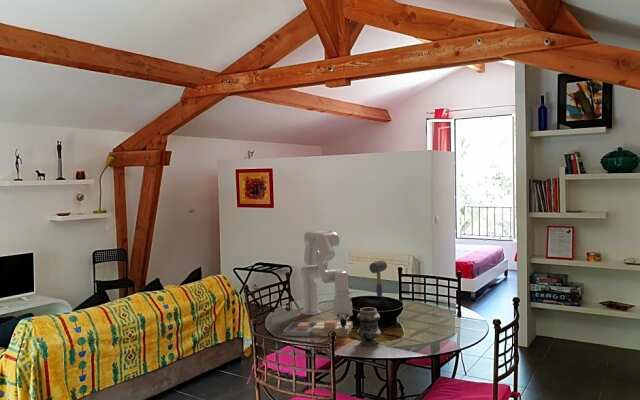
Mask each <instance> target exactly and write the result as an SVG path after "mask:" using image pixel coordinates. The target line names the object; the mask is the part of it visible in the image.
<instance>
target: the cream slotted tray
mask: <svg viewBox="0 0 640 400" xmlns="http://www.w3.org/2000/svg"><path fill="white" fill-rule="evenodd" d="M325 321H326V320H319V321H317V324H316V325H315V326H314V327H313V328H312V335H311V336H312V337H313V336H314V337H315V336H316V337H318V336H319V337H329V336H328V333H329V332H330V331H335V332H336V335H337V336H336V337H348V336H349V335H350V333H351V332H350V331H352V330H353V329H352V328H354V327H353V325H354V324H353V321H346V325H345V327H342V325H341V322H340V321H339V320H337V326H336V328H324V322H325ZM351 329H352V330H351ZM349 332H350V333H349ZM348 334H349V335H348Z"/></svg>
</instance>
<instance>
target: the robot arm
mask: <svg viewBox="0 0 640 400" xmlns="http://www.w3.org/2000/svg"><path fill="white" fill-rule="evenodd" d="M303 241H304V244H305V247H304V254H303V255H304V256H303V258H304V259H303V262H304V264H305V265H303V266H301V268H300V277H301V282H302V293H303V295H302V297H303V309H302V311H301V314H302V315H303V316H314V315H315V316H316V315H319V314H321V313H322V310H321V309H319V294H318V283H316V282H315V280H316V279H320V280H321V282H322V283H324V284H332V283H333V284H334V297H333V309H332V310H333V317H334V316H335V317H337V318H338V319H339V320H340V322H341V325H342V327H345V325H346V322H347V318H348V317H352V316H353V315H354V314H353V303H352V297H351V294H352V291H351V290H350V289H349V276H348V275H349V273H348V272H347V271H346V270H344V269H343V268H332V269H331V268H329V262H330V261H332V260H333V259H334V258H335V257H336V251H335V249H334V247H337V246H339V244H340V241H341V240H340V236H339V234H338V233H337V232H336V231H333V230H330V229H329V230H328V229H327V230H315V231H314V230H312V231H306V232H305V233H304V234H303ZM328 268H329V269H328Z"/></svg>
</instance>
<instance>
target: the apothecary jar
mask: <svg viewBox="0 0 640 400" xmlns="http://www.w3.org/2000/svg"><path fill="white" fill-rule="evenodd" d="M356 318H357V320H358V321H359V328H358V329H357V336H358V337H359V338H361V339H363V340H360V342H359V344H360V346H364V347H375V346H378V345H379V344H380V341H378V340H376V339H377V338H378V337H380V335H381V333H382V332H381V330H380V328H379V323H378V322H379V320H380V318H381V315H380V314H379V312H378V311H377V308H375V307H369V306H368V307H367V306H366V307H362V308H360V309H359V312H358V314H357V316H356Z"/></svg>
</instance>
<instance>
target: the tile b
mask: <svg viewBox="0 0 640 400" xmlns="http://www.w3.org/2000/svg"><path fill="white" fill-rule="evenodd" d="M324 321H325V322H324V328H336V326H337V321H338V319H326V320H324Z"/></svg>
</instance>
